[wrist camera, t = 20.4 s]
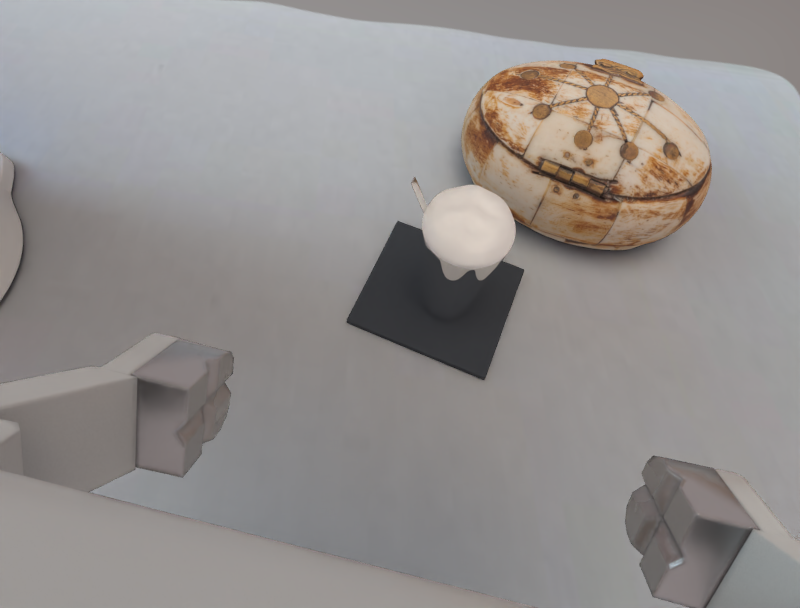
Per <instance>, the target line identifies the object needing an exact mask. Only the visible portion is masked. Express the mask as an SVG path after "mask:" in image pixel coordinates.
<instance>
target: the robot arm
mask: <svg viewBox="0 0 800 608" xmlns="http://www.w3.org/2000/svg"><path fill="white" fill-rule="evenodd" d="M13 180H14V165H13V163H12V161H11V160H10V159H8V158H7V157H6V156H5V155H3V154H2V153H1V152H0V301H1V299H2V298H3V296H4V295H5V293H6V292H7V290H8V289H9V287H10V285H11V283H12V281H13V279H14V277H15V275H16V272H17V269H18V267H19V263H20V260H21V255H22V250H23V231H22V225H21V221H20V218H19V216H18V213H17V211H16V209H15V206H14V204H13V201H12V197H11V191H12V186H13ZM233 363H234V357H233V355H232V353H231V352H230V351H226V350H222V349H218V348H214V347H211V346H207V345H203V344H199V343H195V342H192V341H188V340H184V339H181V338H178V337H173V336H169V335H164V334H159V333H152V334H151V335H149V336H148V337H146V338H145V339H143V340H142V341H140V342H139V343H137V344H135V345H134V346H132V347H131V348H129V349H128V350H126V351H125V352H123V353H122V354H120V355H119V356H117V357H116V358H114V359H113V360H111V361H110V362H108V363H107V364H105V365H104V366H102V367H101V368H99V367H95V366H88V367H83V368H78V369H73V370H67V371H62V372H57V373H52V374H47V375H41V376H36V377H31V378H26V379H21V380H16V381H10V382H5V383H0V608H537V607H533V606H529V605H525V604H521V603H517V602H513V601H509V600H506V599H502V598H498V597H494V596H490V595H486V594H482V593H478V592H474V591H471V590H467V589H463V588H459V587H455V586H451V585H447V584H443V583H439V582H436V581H432V580H428V579H424V578H420V577H416V576H412V575H408V574H404V573H401V572H397V571H393V570H389V569H385V568H381V567H377V566H373V565H369V564H366V563H362V562H358V561H354V560H350V559H346V558H342V557H338V556H334V555H331V554H327V553H323V552H319V551H315V550H311V549H307V548H303V547H299V546H296V545H292V544H288V543H284V542H280V541H276V540H272V539H268V538H264V537H261V536H257V535H253V534H249V533H245V532H241V531H237V530H233V529H229V528H226V527H222V526H218V525H214V524H210V523H206V522H202V521H198V520H194V519H191V518H187V517H183V516H179V515H175V514H171V513H167V512H163V511H159V510H156V509H152V508H148V507H144V506H140V505H136V504H132V503H128V502H125V501H121V500H117V499H113V498H109V497H105V496H101V495H97V494H93V493H90V491H92V490H94V489H97V488H99V487H101V486H103V485H105V484H107V483H109V482H111V481H113V480H115V479H117V478H119V477H121V476H123V475H125V474H127V473H129V472H131V471H133V470H135V467H137V468H142V469H146V470H151V471H155V472H160V473H164V474H169V475H173V476H178V477H182V478H183V477H184V475H185V474H186V473H187V472H188V470H189V469H190V468H191V467H192V465H193V464H194V463H195V462H196V460H197V459H198V458H199V457H200V455H201V454H202V444H203V443H205V442H208V441H210V440H213V439H214V438H215V436H216V435H217V434H218V432H219V431H220V430H221V428H222V425H223V423H224V421H225V419H226V417H227V413H228V409H229V405H230V397H231V392H230V391H229V389H228V387H227V385H226V383H225V381H226V380H227V379H228V378H229V377H230V376H231V375H232V374H233ZM642 476H643V479H644V482H645V485H644V486H642V487H640V488H639V489H637V490H635V491H634V492H632V495H631V497H630V500H629V502H628V504H627V508H626V517H625V524H626V531H627V535H628V537H629V540H630V542H631V544H632V545H633V546H634V547H635V548H636V549H637V550H638V551H639V552H640V553H641V554H642V555H643V558H642V560H641V562H640V564H639V565H640V567H641V570H642V572H643V574H644V577H645V579H646V582H647V584H648V587H649V589H650V591H651V594H652V596H653V597H654V598H658V599H661V600H665V601H669V602H672V603H676V604H679V605H683V606H686V607H690V608H800V540H796V539H794V538H793V537H792V536H791V535H790V533H789V532H788V531H787V530H786V528H785V527H784V526H783V525H782V524H781V522H780V521H779V520H778V519H777V517H776V516H775V515H774V514H773V512H772V511H771V510H770V509H769V508H768V506H767V505H766V504H765V503H764V501H763V500H762V499H761V498H760V496H759V495H758V494H757V493H756V492H755V490H754V489H753V488H752V487H751V485H750V484H749V483H748V482H747V480H746V479H745V478H744V477H742V476H741V475H739V474H737V473H734V472H729V471H724V470H719V469H714V468H710V467H705V466H701V465H696V464H692V463H687V462H682V461H678V460H673V459H669V458H664V457H658V456H652V457H651V458H650V459H649V461H648V462H647V463H646V465H645V467H644V469H643V471H642Z"/></svg>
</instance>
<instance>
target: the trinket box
mask: <svg viewBox="0 0 800 608" xmlns="http://www.w3.org/2000/svg"><path fill="white" fill-rule="evenodd" d="M642 78H643V74H642V73H641V72H640V71H639V70H636V69H634V68H631V67H628V66H625V65H622V64H619V63H616V62H613V61H609V60H606V59H601V60H595V65H590V64H584V63H578V62H570V61H538V62H531V63H525V64H521V65H517V66H514V67H511V68H508V69H506V70H504V71H502V72H500V73H498V74H496V75H495V76H494V77H492V78H491V79H490V80H489V81H488V82H487V83H486V84H485V85H484V86H483V87H482V88H481V89H480V90H479V92H478V93H477V95H476V96H475V98H474V99H473V101H472V103H471V105H470V107H469V109H468V111H467V114H466V117H465V120H464V124H463V128H462V135H461V144H462V152H463V157H464V160H465V164H466V166H467V169H468V171H469V173H470V175H471V178H472V181H473V183H474V185H478V186H481V187H483V188H484V189H486V190H488V191H490V192H492V193H494V194H496V195H498V196H499V197H500V198H502V199H503V200H504V201H505V202H506V204H507V205H508V207H509V209H510V211H511V213H512V216H513V218H514V220H516V221H518V222H519V223H521V224H523V225H525V226H527V227H529V228H531V229H532V230H534V231H536V232H538V233H541V234H542V235H544V236H547V237H550V238H553V239H555V240H558V241H561V242H565V243H568V244H573V245H576V246H582V247H587V248H593V249H604V250H627V249H632V248H634V247H638V246H640V245H643V244H647V243H651V242H654V241H657V240H660V239H662V238H665V237H667V236H668V235H670V234H672V233H674V232H675V231H677V230H678V229H679V228H681V227H682V226H683V225H684V224H685V223H686V222H688V221H689V220H690V219H691V218H692V216H693V215H694V214H695V213H696V211H697V210H698V209H699V207H700V206H701V204H702V202H703V201H704V199H705V196H706V194H707V191H708V189H709V185H710V181H711V171H712V166H711V158H710V151H709V147H708V144H707V141H706V139H705V137H704V134H703V133H702V131H701V129H700V128H699V126H698V125H697V124H696V123H695V121H694V120H693V119H692V118H691V117H690V116H689V115H688V114H687V113H686V112H685V111H684V110H683V109H682V108H681V107H680V106H678V105H677V104H676V103H675V102H674V101H672V100H671V99H670V98H668V97H667V96H666V95H664V94H663V93H661V92H660V91H658V90H657V89H655V88H653V87H651V86H650V85H648V84H646V83H644V82H642V81H641V79H642Z"/></svg>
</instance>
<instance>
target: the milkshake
mask: <svg viewBox="0 0 800 608" xmlns="http://www.w3.org/2000/svg"><path fill="white" fill-rule="evenodd" d="M411 185H412V187H413V190H414V192H415V194H416V197H417V199H418V201H419V204H420V206H421V208H422V211H423V213H424V215H423V220H422V252H423V275H422V297H421V302H422V304H423V305H424V306H425V308H426V309H427V311H428V312H429V313H430V315H432V316H435V317H437V318H440V319H443V320H445V321H447V320H451V319H456V318H460V317H462V316H463V315H464V314H465V313H466V311H467V310H468V309H469V308H470V307H471V305H472V304H473V302H474V301H475V299H476V298H477V296H478V295H479V293H480V292H481V290H482V289H483V287H484V285H485V284H486V282H487V281H488V279H489V278H490V276H491V275H492V274H493V273H494V271H495V270H496V269H497V267H498V266H499V264H500V263H501V262H502V260H503V259H504V258H505V256H506V255H507V254H508V252H509V251H510V249H511V247H512V245H513V243H514V239H515V233H516V227H515V222H514V218H513V216H512V213H511V211H510V209H509V207H508V205H507V204H506V202H505V201H504V200H503V199H502V198H500V197H499V196H498V195H496V194H494V193H492V192H490V191H488V190H486V189H484V188H483V187H481V186H478V185H465V186H460V187H456V188H451V189H447V190H444V191H442V192H440V193H439V194H438V195H436V196H435V197H434V198H433V199H432V201H431V202H430V203H429V205H428V206H427V204H426V202H425V200H424V197H423V195H422V192H421V190H420V187H419V185H418V183H417V180H416V178H415V177H414V178H413V180H412V182H411Z"/></svg>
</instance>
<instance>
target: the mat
mask: <svg viewBox="0 0 800 608" xmlns="http://www.w3.org/2000/svg"><path fill="white" fill-rule="evenodd" d="M523 272H524V269H521V268H519V267H516V266H513V265H511V264H508V263H506V262H503V261H502V262H501V263H500V264H499V266H498V267H497V269H496V270H495V271H494V273H493V274H492V275H491V276H490V278H489V279H488V281H487V282H486V284H485V285H484V287H483V289H482V290H481V292H480V293H479V295H478V296H477V298H476V299H475V301H474V302H473V304H472V305H471V307H470V308H469V309H468V310H467V311H466V313H465V314H464V315H463V316H462V317H460V318H456V319H451V320H447V321H445V320H443V319H440V318H437V317H435V316H432V315H430V313H429V312H428V311H427V309H426V308H425V306H424V305H423V304H422V302H421V297H422V275H423V252H422V230H420V229H418V228H415V227H412V226H410V225H407V224H405V223H402V222H399V221H398V222H397V224H396V225H395V227H394V229H393V231H392V233H391V235H390V237H389V239H388V241H387V243H386V245H385V247H384V249H383V251H382V253H381V255H380V257H379V259H378V261H377V262H376V264H375V266H374V268H373V270H372V272H371V274H370V276H369V278H368V280H367V282H366V284H365V286H364V288H363V290H362V292H361V294H360V296H359V298H358V299H357V301H356V303H355V305H354V307H353V309H352V311H351V313H350V315H349V317H348V319H347V323H349V324H351V325H354V326H356V327H359V328H361V329H363V330H366V331H368V332H371V333H373V334H375V335H378V336H380V337H383V338H385V339H387V340H390V341H392V342H395V343H397V344H399V345H402V346H404V347H406V348H409V349H411V350H414V351H416V352H418V353H421V354H423V355H426V356H428V357H430V358H433V359H435V360H438V361H440V362H442V363H445V364H447V365H450V366H452V367H454V368H457V369H459V370H462V371H464V372H466V373H469V374H471V375H473V376H476V377H478V378H481V379H483V380H484V379H485V377H486V374H487V372H488V369H489V366H490V363H491V361H492V358H493V355H494V352H495V349H496V347H497V344H498V341H499V338H500V336H501V333H502V330H503V327H504V325H505V322H506V319H507V316H508V313H509V311H510V308H511V305H512V302H513V300H514V297H515V294H516V291H517V289H518V286H519V283H520V280H521V277H522V275H523Z"/></svg>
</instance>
